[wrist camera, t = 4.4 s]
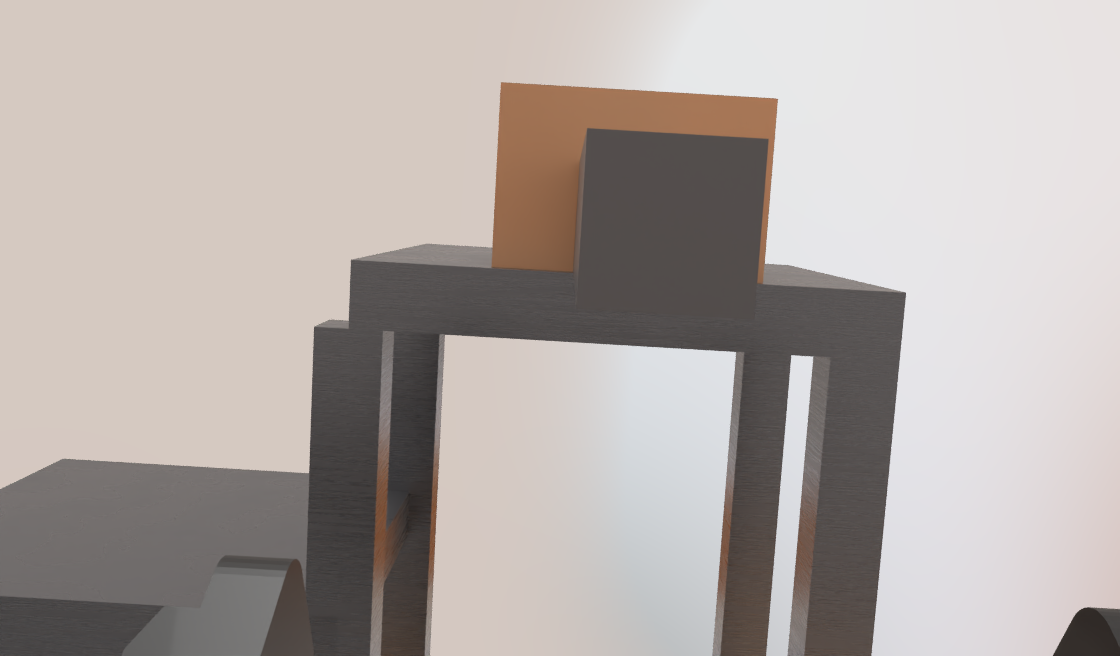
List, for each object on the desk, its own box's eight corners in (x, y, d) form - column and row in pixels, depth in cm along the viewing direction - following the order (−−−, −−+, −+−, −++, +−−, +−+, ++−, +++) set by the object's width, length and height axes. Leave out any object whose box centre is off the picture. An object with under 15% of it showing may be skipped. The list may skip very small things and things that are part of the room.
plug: (888, 328, 14) (917, 22, 14) (442, 301, 14) (457, -5, 14) (712, 265, 31) (722, 128, 30) (511, 253, 31) (518, 116, 30)
